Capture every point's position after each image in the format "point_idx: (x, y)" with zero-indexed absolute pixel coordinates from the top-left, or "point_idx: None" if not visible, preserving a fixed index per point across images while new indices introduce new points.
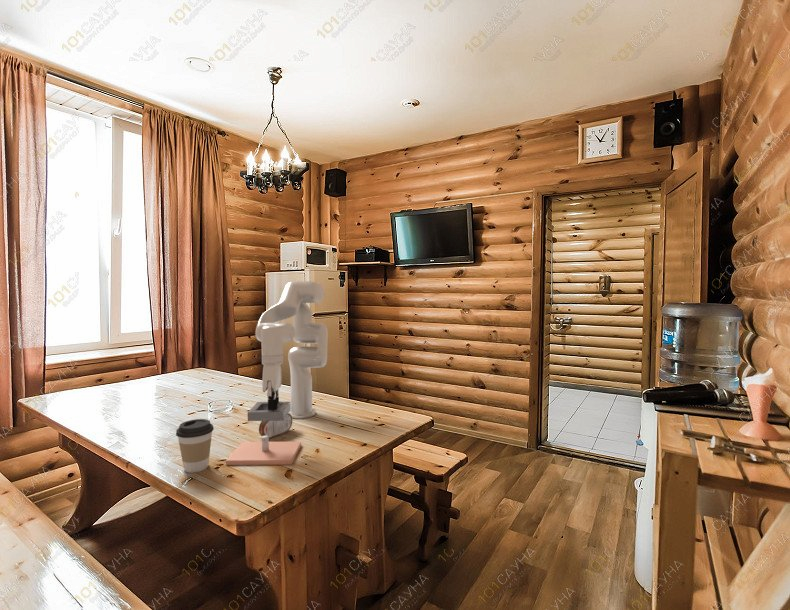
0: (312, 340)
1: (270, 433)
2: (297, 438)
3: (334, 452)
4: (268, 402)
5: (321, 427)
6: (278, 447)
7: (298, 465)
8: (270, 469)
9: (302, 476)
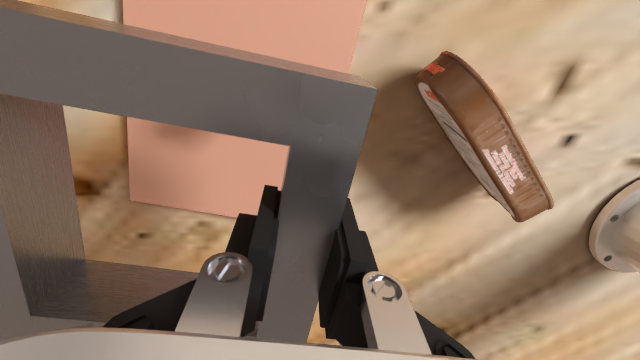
0: None
1: (435, 108)
2: (382, 208)
3: None
4: (254, 230)
5: (459, 280)
6: (262, 150)
7: (130, 214)
8: (91, 121)
9: None
